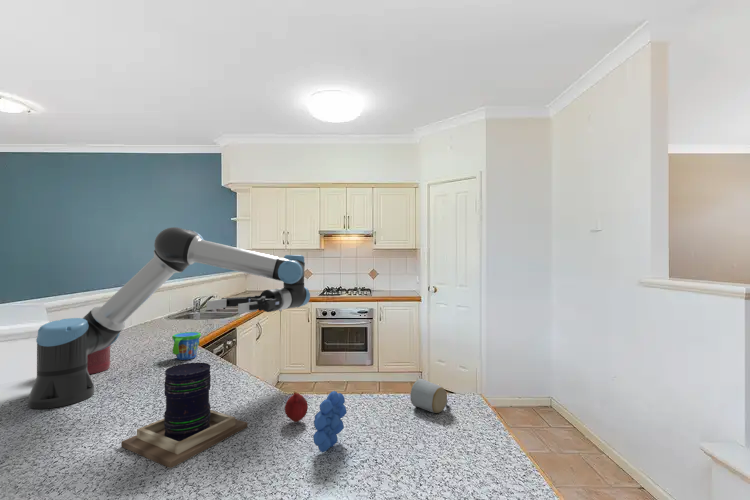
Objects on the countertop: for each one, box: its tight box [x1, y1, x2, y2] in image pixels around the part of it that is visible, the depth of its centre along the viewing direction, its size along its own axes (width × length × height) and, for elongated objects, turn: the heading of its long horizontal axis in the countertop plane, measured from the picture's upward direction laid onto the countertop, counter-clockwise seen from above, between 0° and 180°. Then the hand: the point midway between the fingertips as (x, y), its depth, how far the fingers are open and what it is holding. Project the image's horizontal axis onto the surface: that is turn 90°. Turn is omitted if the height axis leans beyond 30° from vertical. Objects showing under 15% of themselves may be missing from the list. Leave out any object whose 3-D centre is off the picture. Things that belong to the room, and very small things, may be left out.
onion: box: [284, 390, 309, 423], centre depth 94 cm, size 6×6×8 cm
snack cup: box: [171, 331, 202, 361], centre depth 154 cm, size 16×10×10 cm
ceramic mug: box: [409, 378, 449, 414], centre depth 103 cm, size 11×8×8 cm
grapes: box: [312, 390, 348, 453], centre depth 82 cm, size 12×7×12 cm, turn 154°
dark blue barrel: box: [163, 362, 212, 441], centre depth 87 cm, size 10×10×15 cm
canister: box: [87, 344, 112, 375], centre depth 137 cm, size 13×13×18 cm
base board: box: [120, 409, 249, 469], centre depth 86 cm, size 18×20×3 cm
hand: (222, 307), depth 106 cm, fingers open, 13 cm apart
